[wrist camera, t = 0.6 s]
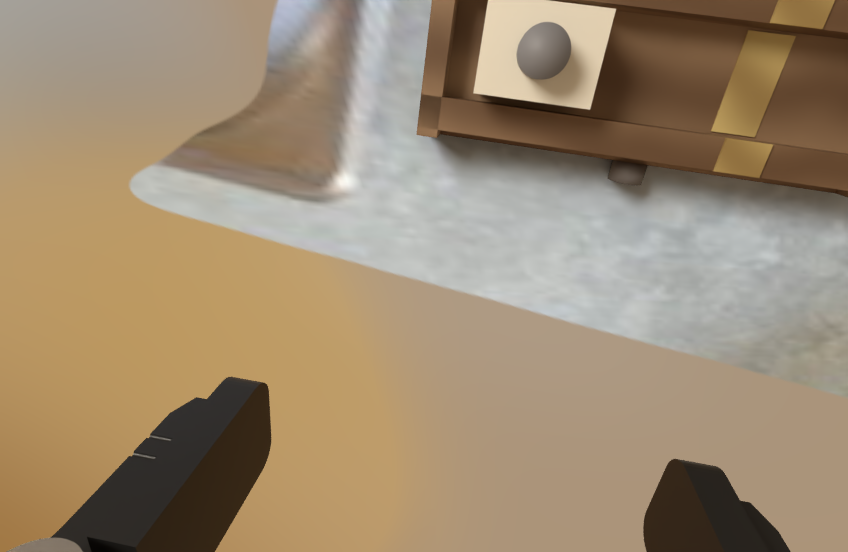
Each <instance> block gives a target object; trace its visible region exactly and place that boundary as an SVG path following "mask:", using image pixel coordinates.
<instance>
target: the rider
mask: <svg viewBox="0 0 848 552" xmlns="http://www.w3.org/2000/svg"><path fill="white" fill-rule="evenodd" d="M615 12H616V9H614V8H606V7H598V6H590V5H582V4H574V3H566V2H558V1H549V0H488V4H487V10H486V16H485V23H484V29H483V35H482V42H481V48H480V54H479V60H478V67H477V73H476V79H475V86H474V92H473V93H475V94H483V95H490V96H497V97H504V98H511V99H518V100H525V101H532V102H539V103H546V104H553V105H560V106H567V107H574V108H581V109H588V110H590V108H591V104H592V100H593V97H594V93H595V89H596V85H597V81H598V77H599V73H600V70H601V66H602V62H603V58H604V54H605V50H606V46H607V43H608V39H609V35H610V31H611V27H612V23H613V19H614V16H615Z"/></svg>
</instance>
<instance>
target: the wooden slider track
mask: <svg viewBox="0 0 848 552" xmlns="http://www.w3.org/2000/svg"><path fill="white" fill-rule="evenodd" d="M549 1H558V2H566V3H574V4H582V5H590V6H598V7H606V8H614V9H616V12H615V16H614V19H613V23H612V27H611V31H610V35H609V39H608V43H607V46H606V50H605V54H604V58H603V62H602V66H601V70H600V73H599V77H598V81H597V85H596V89H595V93H594V97H593V100H592V104H591V108H590V110H588V109H581V108H574V107H567V106H560V105H553V104H546V103H539V102H532V101H525V100H518V99H511V98H504V97H497V96H490V95H483V94H475V93H473V92H474V86H475V79H476V73H477V67H478V60H479V54H480V48H481V42H482V35H483V29H484V23H485V16H486V10H487V4H488V0H432V6H431V14H430V23H429V32H428V40H427V49H426V58H425V66H424V75H423V84H422V92H421V101H420V109H419V118H418V127H417V135H421V136H428V137H435V138H437V137H438V136H439V135H440V134H443V135H450V136H456V137H463V138H470V139H476V140H483V141H490V142H497V143H503V144H510V145H517V146H523V147H530V148H537V149H543V150H550V151H557V152H563V153H570V154H577V155H583V156H590V157H597V158H604V159H610V160H613V161H612V165H611V168H610V171H609V175H608V179H609V180H612V181H615V182H618V183H623V184H628V185H641V183H642V180H643V177H644V174H645V171H646V168H647V165H650V166H657V167H664V168H670V169H677V170H684V171H691V172H697V173H704V174H711V175H717V176H724V177H731V178H737V179H744V180H751V181H757V182H764V183H771V184H778V185H784V186H791V187H798V188H804V189H811V190H818V191H824V192H831V193H837V194H840V195H843V196H846V197H848V0H549Z"/></svg>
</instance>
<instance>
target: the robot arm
mask: <svg viewBox="0 0 848 552" xmlns="http://www.w3.org/2000/svg"><path fill="white" fill-rule="evenodd" d="M270 446H271V425H270V406H269V390H268V386H267V384H265V383H262V382H257V381H251V380H246V379H240V378H235V377H228V378H226V379H225V380H224V381H223V382H222V383H221V384H220V385H219V386H218V387H217V388H216V389H215V391H214V392H213V393H212V394H211V395H210V396H209V397H208V399H202V398H195V399H193V400H191V401H190V402H188V403H186V404H185V405H183V406H181V407H180V408H178V409H176V410H174V411H173V412H171V413H170V414H169V415H168V416H167V417H166V418H165V419H164V420H163V421H162V422H161V423H160V424H159V425H158V426H157V428H156V429H155V430H154V431H153V432H152V433H151V434H150V437H149V438H146V439H145V440H144V441H143V442H142V443H141V444H140V445H139V446H138V447H137V449H136V450H135V451H134V454H133V456H129V457H128V458H127V459H126V460H125V461H124V462H123V463H122V464H121V465H120V466H119V468H118V469H117V470H116V471H115V472H114V473H113V474H112V475H111V476H110V477H109V478H108V479H107V480H106V481H105V482H104V483H103V484H102V485H101V486H100V488H99V489H98V490H97V491H96V492H95V493H94V494H93V495H92V496H91V497H90V498H89V499H88V500H87V501H86V502H85V504H83V506H82V507H81V508H80V509H79V510H78V511H77V512H76V513H75V514H74V515H73V516H72V517H71V518H70V519H69V520H68V521H67V522H66V523H65V524H64V525H63V527H62V528H60V529H59V531H57V532H56V533H55V534H54V535H53V536H52V537H51V538H45V539H39V540H35V541H31V542H28V543H25V544H23V545H20V546H17V547H15V548H13V549H11V550H9V551H7V552H215V550H216V548H217V547H218V545H219V543H220V542H221V540H222V538H223V537H224V535H225V533H226V532H227V530H228V528H229V526H230V524H231V523H232V521H233V520H234V518H235V516H236V515H237V513H238V511H239V509H240V508H241V506H242V504H243V503H244V501H245V499H246V497H247V496H248V494H249V492H250V490H251V489H252V487H253V485H254V484H255V482H256V480H257V479H258V477H259V475H260V473H261V472H262V470H263V468H264V466H265V464H266V461H267V458H268V455H269V451H270ZM644 542H645V547H646V551H647V552H790V550H789V548H788V547H787V545H786V543H785V542H784V540H783V539H782V537H781V535H780V534H779V532H778V531H777V530H776V529H775V528H774V527H773V526H772V525H771V523H769V521H768V520H767V519H766V518H765V517H764V516H763V515H762V514H761V513H760V512H759V511H758V510H757V509H756V508H755V507H754V506H753V505H752V504H751V503H749V502H743V501H740V500H739V498H738V496H737V495H736V493H735V491H734V489H733V487H732V486H731V484H730V482H729V480H728V478H727V477H726V475H725V473H724V472H723V471H722V470H721V469H720V468H718V467H716V466H711V465H706V464H700V463H695V462H689V461H684V460H678V459H673V460H671V461H670V462H669V463H668V465H667V467H666V469H665V471H664V473H663V475H662V478H661V480H660V482H659V484H658V487H657V489H656V491H655V493H654V495H653V498H652V500H651V502H650V504H649V507H648V509H647V511H646V514H645V518H644Z"/></svg>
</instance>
